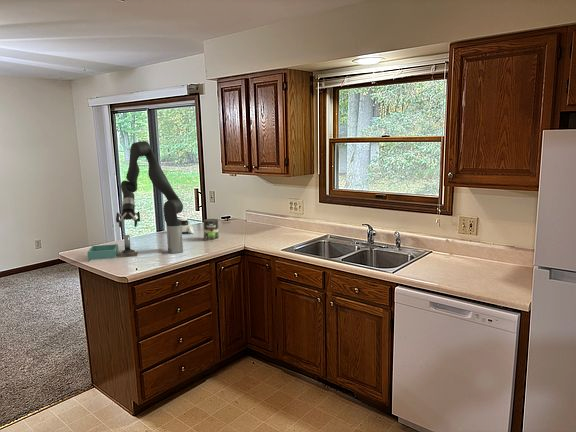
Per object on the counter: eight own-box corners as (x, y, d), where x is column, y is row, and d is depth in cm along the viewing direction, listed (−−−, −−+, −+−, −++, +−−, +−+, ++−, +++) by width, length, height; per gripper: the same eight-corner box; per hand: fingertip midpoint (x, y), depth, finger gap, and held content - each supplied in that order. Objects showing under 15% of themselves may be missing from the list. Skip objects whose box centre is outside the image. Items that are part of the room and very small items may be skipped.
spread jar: (177, 232, 330) (176, 217, 328) (192, 231, 334) (191, 216, 332) (179, 235, 319) (178, 220, 317) (195, 234, 323) (194, 218, 321)
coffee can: (219, 240, 301) (218, 220, 299) (204, 241, 299) (203, 221, 297) (218, 237, 311) (217, 218, 309) (204, 238, 309) (203, 219, 307)
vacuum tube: (132, 253, 264) (131, 234, 262) (131, 255, 260) (130, 236, 258) (124, 254, 263) (123, 234, 261) (123, 255, 259) (122, 236, 257)
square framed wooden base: (138, 253, 268) (138, 248, 268) (136, 258, 258) (136, 253, 257) (119, 255, 266) (119, 250, 265) (117, 259, 255) (117, 254, 255)
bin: (118, 253, 269) (118, 244, 268) (115, 259, 255) (114, 250, 254) (93, 255, 266) (92, 245, 264) (88, 261, 251) (87, 251, 250)
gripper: (116, 203, 273) (115, 224, 264) (139, 202, 276) (139, 222, 267) (117, 210, 279) (116, 230, 270) (140, 208, 282) (140, 229, 273)
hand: (128, 226), depth 269 cm, fingers open, 8 cm apart
